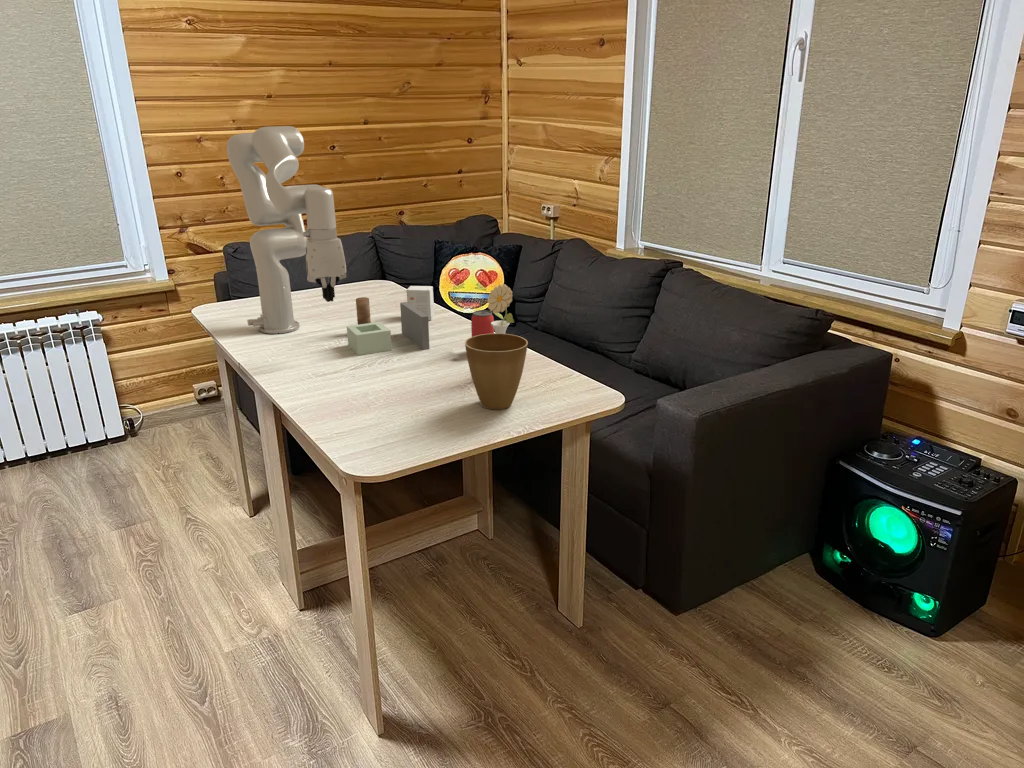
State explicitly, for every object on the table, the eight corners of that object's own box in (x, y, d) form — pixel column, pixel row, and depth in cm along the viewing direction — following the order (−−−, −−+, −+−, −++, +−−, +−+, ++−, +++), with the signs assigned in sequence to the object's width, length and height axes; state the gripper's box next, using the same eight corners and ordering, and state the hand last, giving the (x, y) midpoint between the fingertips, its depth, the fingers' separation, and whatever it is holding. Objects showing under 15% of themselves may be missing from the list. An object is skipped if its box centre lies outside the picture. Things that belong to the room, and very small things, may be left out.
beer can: (498, 351, 220) (498, 312, 215) (483, 357, 215) (482, 317, 211) (483, 347, 224) (482, 308, 220) (467, 352, 219) (466, 312, 215)
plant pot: (535, 412, 178) (536, 348, 173) (474, 419, 174) (473, 354, 169) (517, 389, 192) (517, 330, 186) (460, 396, 188) (458, 335, 182)
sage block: (358, 355, 213) (356, 335, 211) (348, 345, 222) (346, 326, 220) (391, 350, 218) (390, 330, 216) (380, 340, 226) (379, 321, 224)
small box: (434, 316, 255) (433, 285, 251) (431, 320, 250) (430, 290, 246) (411, 315, 256) (410, 285, 252) (407, 320, 251) (406, 289, 247)
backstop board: (356, 364, 210) (353, 326, 206) (338, 346, 225) (335, 310, 221) (429, 352, 219) (428, 316, 215) (408, 336, 234) (406, 301, 230)
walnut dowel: (360, 339, 231) (357, 301, 227) (357, 335, 235) (354, 298, 230) (373, 337, 233) (370, 299, 229) (369, 333, 236) (366, 296, 232)
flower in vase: (473, 368, 207) (471, 279, 198) (511, 362, 211) (511, 275, 202) (491, 383, 196) (490, 290, 187) (530, 377, 200) (531, 285, 191)
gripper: (298, 239, 196) (305, 307, 203) (353, 234, 203) (359, 300, 209) (291, 235, 203) (299, 301, 209) (345, 230, 209) (351, 294, 215)
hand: (329, 300), depth 209 cm, fingers closed
